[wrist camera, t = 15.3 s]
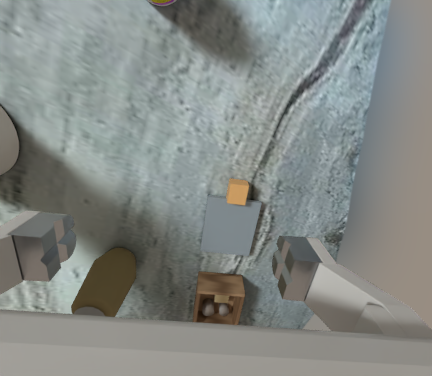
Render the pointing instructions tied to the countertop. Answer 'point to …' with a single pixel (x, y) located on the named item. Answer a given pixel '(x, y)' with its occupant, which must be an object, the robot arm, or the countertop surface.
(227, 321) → the walnut box
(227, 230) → the lid
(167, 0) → the supplement bottle
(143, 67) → the countertop surface
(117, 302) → the squeeze bottle
